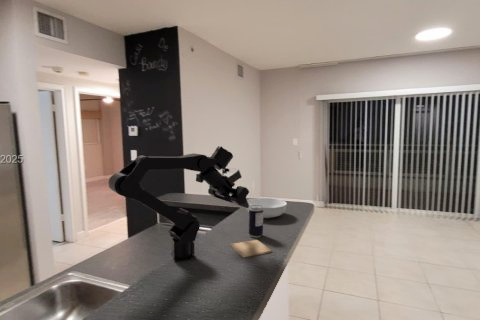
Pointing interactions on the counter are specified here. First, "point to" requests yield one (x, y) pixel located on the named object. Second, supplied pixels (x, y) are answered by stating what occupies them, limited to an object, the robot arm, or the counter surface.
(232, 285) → the counter surface
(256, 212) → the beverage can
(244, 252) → the coaster
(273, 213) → the serving bowl
